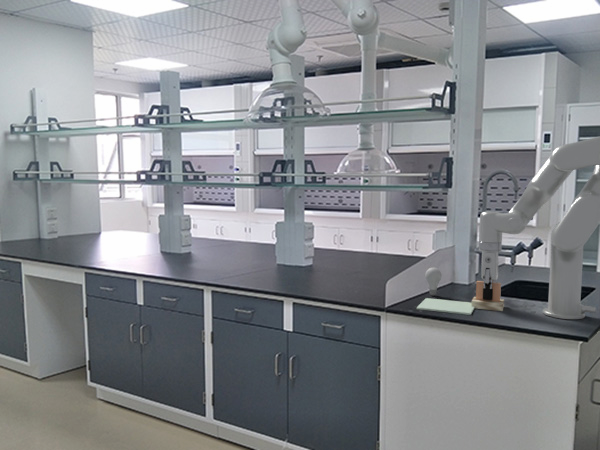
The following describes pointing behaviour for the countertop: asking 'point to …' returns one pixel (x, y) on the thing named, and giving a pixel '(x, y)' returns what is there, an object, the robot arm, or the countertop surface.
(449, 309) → the mat
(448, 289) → the countertop surface
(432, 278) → the lightbulb
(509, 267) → the countertop surface
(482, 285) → the tile
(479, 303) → the stand
